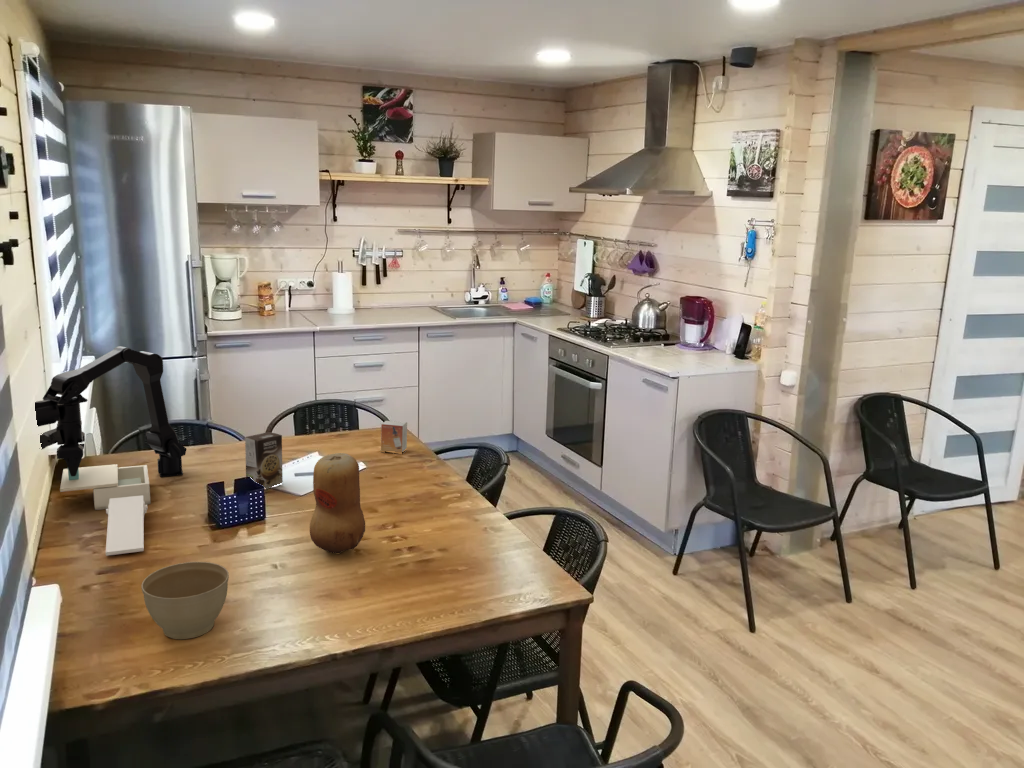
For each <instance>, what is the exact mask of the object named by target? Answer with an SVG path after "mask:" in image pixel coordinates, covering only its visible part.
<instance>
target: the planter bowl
mask: <svg viewBox="0 0 1024 768" xmlns="http://www.w3.org/2000/svg"><path fill="white" fill-rule="evenodd" d="M229 575H230V574H229V570H228V569H227V568H226V567H224V566H223V565H220V564H218V563H215V562H210V561H208V562H207V561H188V562H187V561H186V562H182V563H181V562H179V563H176V564H171V565H168V566H164V567H161V568H159V569H157V570H155V571H154V572H152V573H150V574H148V575H147V577H145V578H144V579H143V581H142V583H141V593H142V594H143V598H144V599H143V600H144V604H145V607H146V610H147V611H148V613H149V615H150V617H151V618H152V620H153V621H154V622H155V624H157V626H158V627H160V628H161V629H162V632H163V634H164V635H165V636H166V637H168V638H170V639H174V640H188V639H194V638H197V637H200V636H202V635H204V634H207V633H208V632H209V631H211V630H212V629H213V627H214V626H215V621H216V619H217V618H218V616H219V614H220V613H221V612H222V609H223V607H224V605H225V602H226V599H227V595H228V587H229V586H228V585H229V584H228V583H229V578H230V577H229Z"/></svg>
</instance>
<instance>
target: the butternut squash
mask: <svg viewBox="0 0 1024 768" xmlns="http://www.w3.org/2000/svg"><path fill="white" fill-rule="evenodd" d="M312 476H313V477H312V479H313V480H312V481H313V482H312V483H313V484H312V485H313V487H312V488H313V495H314V496H313V497H314V500H315V508H314V510H313V513H312V514H311V519H310V522H309V535H310V539H311V541H312V543H314V545H315V546H316V547H318V548H320V549H321V550H323V551H325V552H328V553H332V554H336V553H340V554H342V552H345V551H349V550H354V549H355V548H356V547H357V546H358V545H359V544H360V542H361V541H362V539H363V537H364V534H365V532H366V520H365V515H364V512H363V510H362V508H361V489H360V488H361V487H360V465H359V462H358V461H357V459H356V458H355V457H353V455H350V454H348V453H344V452H343V453H342V452H337V453H331V454H327V455H325V456H322V457H321V458H320V459H318V460H317V462H316V463H315V464H314V468H313V475H312Z"/></svg>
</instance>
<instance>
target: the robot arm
mask: <svg viewBox="0 0 1024 768" xmlns="http://www.w3.org/2000/svg"><path fill="white" fill-rule="evenodd" d="M125 363H128V364H130V365H133V369H134V371H135V374H136V376H138V378H139V379H140V380H141V382H142V384H143V390H144V395H145V399H146V404H147V409H148V414H149V418H150V425H151V426H150V428H149V429H150V430H149V431H145V436H146V438H147V439H146V440H147V442H146V444H147V445H149V447H150V448H151V449H152V450H153V452H154V454H155V455H158V456H159V457H158V458H157V459H156V461H157V473H158V474H159V476H160V477H161V478H164V477H166V478H167V477H175V476H183V475H184V473H183V463H182V461H183V460H182V457H184V456H186V453H187V448H186V447H185V446H184V445H183V444H181V443H180V442H179V439H178V435H177V433H176V431H175V430H174V428H173V427H172V426H171V424H170V422H169V418H168V413H167V408H166V404H165V403H166V401H165V398H164V392H163V388H162V382H161V379H162V376H163V373H164V360H163V358H162V356H161V355H159V354H158V353H152V352H148V351H143V350H142V351H137V350H133V349H132V348H130V347H128V346H127V347H125V346H121V345H119V346H116V347H114V348H113V349H112V350H110V351H109V352H107V353H105V354H104V355H102V356H100V357H98V358H96V359H94V360H93V361H90V362H89V363H87V364H85V365H84V366H82V367H80V368H76V369H73V370H68V371H64V372H61V373H59V374H57V375H55V376H53V377H52V379H51V383H50V386H49V387H48V389H47V390H46V392H45V394H44V396H43V397H42V400H37V401H36V402H35V411H36V420H37V425H38V427H43V426H44V427H45V426H47V425H48V426H49V425H52V424H55V423H56V422H57V423H56V427H55V428H53V429H49V430H47V431H45V432H42V433H43V434H42V433H41V434H42V435H40V443H42V444H41V447H42V449H41V450H45V449H46V448H48V447H49V446H53V445H54V444H56V445H57V446H58V448H57V449H56V459H57V460H63V461H65V463H66V466H67V469H69V472H70V474H71V476H76V473H77V471H78V468H80V464H81V461H82V460H83V457H84V453H85V452H84V449H85V443H83V442H85V441H86V436H85V435H86V434H85V432H84V431H83V427H82V423H83V422H82V418H81V417H82V415H81V413H82V412H81V404H82V403H88V398H87V397H84V396H83V395H82V393H83V392H84V391H86V390H87V388H88V387H89V385H90V384H91V383H93V382H94V381H95V380H97V379H98V378H101V377H102V376H103V375H105V374H107V373H109V372H110V371H112V370H114V369H116V368H117V367H119V366H121V365H123V364H125ZM58 395H59V396H58ZM38 427H37V428H38Z"/></svg>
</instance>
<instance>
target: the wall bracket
mask: <svg viewBox="0 0 1024 768" xmlns="http://www.w3.org/2000/svg"><path fill="white" fill-rule="evenodd" d="M147 510H149V509H148V504H145V501H144V499H143V495H142V496H131V497H121V498H111V499H110V500H109V505H108V509H105V513H106V515H107V526H106V527H107V528H106V529H107V530H106V543H105V556H107V557H108V556H115V555H122V554H129V553H137V552H144V550H145V549H144V546H145V545H144V544H145V540H144V539H145V537H144V536H145V535H144V533H145V531H144V521H145V514H147Z"/></svg>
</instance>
